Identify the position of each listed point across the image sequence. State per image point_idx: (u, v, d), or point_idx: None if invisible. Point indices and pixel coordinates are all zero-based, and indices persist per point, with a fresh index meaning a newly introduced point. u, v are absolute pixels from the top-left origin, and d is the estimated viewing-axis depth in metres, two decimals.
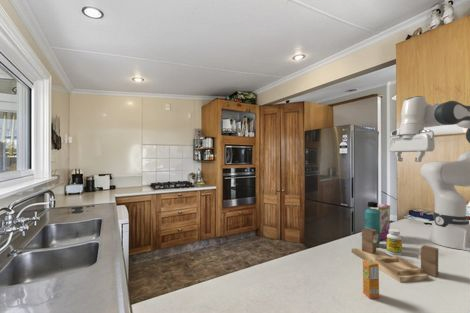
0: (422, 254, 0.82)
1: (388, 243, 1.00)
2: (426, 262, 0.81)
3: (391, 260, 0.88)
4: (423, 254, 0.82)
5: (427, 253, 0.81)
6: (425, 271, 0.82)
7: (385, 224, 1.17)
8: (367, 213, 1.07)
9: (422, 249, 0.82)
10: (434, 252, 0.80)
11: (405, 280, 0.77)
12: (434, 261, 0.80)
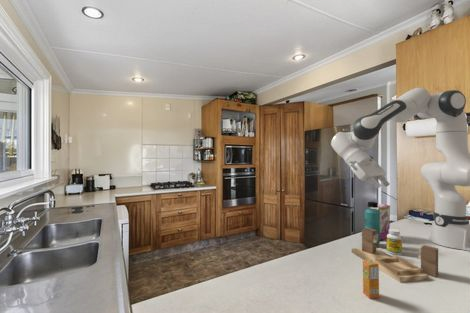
0: (422, 254, 0.82)
1: (388, 243, 1.00)
2: (426, 262, 0.81)
3: (391, 260, 0.88)
4: (423, 254, 0.82)
5: (427, 253, 0.81)
6: (425, 271, 0.82)
7: (385, 224, 1.17)
8: (367, 213, 1.07)
9: (422, 249, 0.82)
10: (434, 252, 0.80)
11: (405, 280, 0.77)
12: (434, 261, 0.80)
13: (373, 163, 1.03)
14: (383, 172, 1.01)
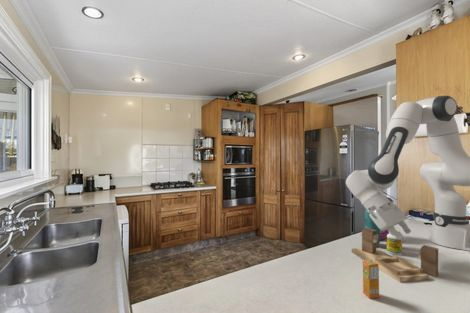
0: (422, 254, 0.82)
1: (388, 243, 1.00)
2: (426, 262, 0.81)
3: (391, 260, 0.88)
4: (423, 254, 0.82)
5: (427, 253, 0.81)
6: (425, 271, 0.82)
7: None
8: (367, 213, 1.07)
9: (422, 249, 0.82)
10: (434, 252, 0.80)
11: (405, 280, 0.77)
12: (434, 261, 0.80)
13: (392, 206, 0.96)
14: (403, 217, 0.95)
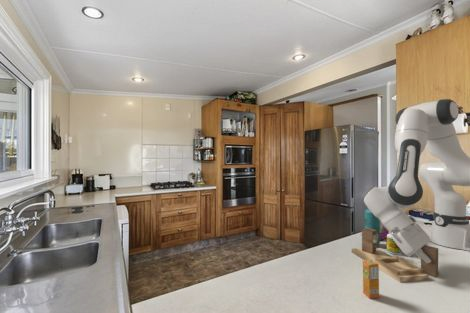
0: None
1: (388, 243, 1.00)
2: None
3: (391, 260, 0.88)
4: None
5: (427, 253, 0.81)
6: (425, 271, 0.82)
7: None
8: (367, 213, 1.07)
9: (422, 249, 0.82)
10: (434, 252, 0.80)
11: (405, 280, 0.77)
12: (434, 261, 0.80)
13: (415, 227, 0.90)
14: (427, 238, 0.89)
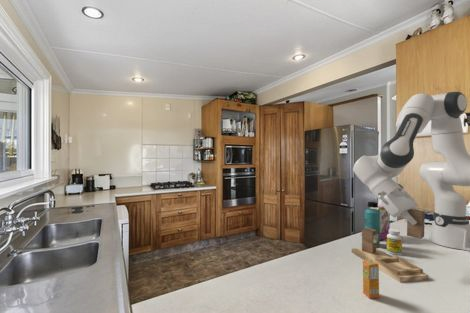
0: None
1: (388, 243, 1.00)
2: None
3: (391, 260, 0.88)
4: None
5: (413, 215, 0.82)
6: (411, 233, 0.82)
7: (385, 224, 1.17)
8: (367, 213, 1.07)
9: (408, 212, 0.83)
10: (420, 213, 0.80)
11: (405, 280, 0.77)
12: (420, 222, 0.80)
13: (403, 193, 0.90)
14: (415, 204, 0.89)
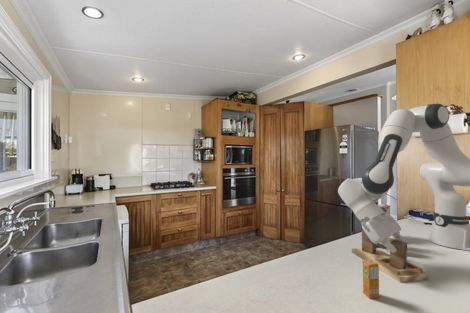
0: None
1: None
2: (395, 255, 0.83)
3: None
4: None
5: (396, 247, 0.82)
6: (393, 264, 0.83)
7: None
8: None
9: (391, 243, 0.83)
10: (402, 246, 0.81)
11: (405, 280, 0.77)
12: (402, 255, 0.81)
13: (386, 217, 0.91)
14: (398, 228, 0.90)
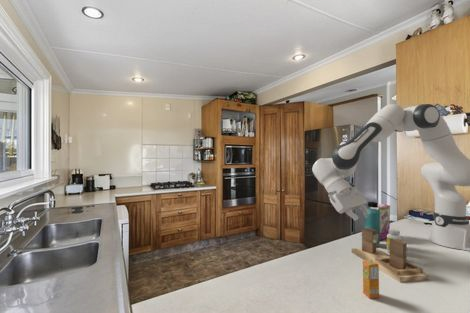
0: (391, 248, 0.84)
1: (388, 243, 1.00)
2: (395, 255, 0.83)
3: None
4: (391, 248, 0.83)
5: (395, 247, 0.83)
6: (393, 265, 0.83)
7: (385, 224, 1.17)
8: None
9: (391, 243, 0.84)
10: (401, 246, 0.81)
11: (405, 280, 0.77)
12: (401, 255, 0.81)
13: (354, 191, 1.01)
14: (364, 201, 1.00)
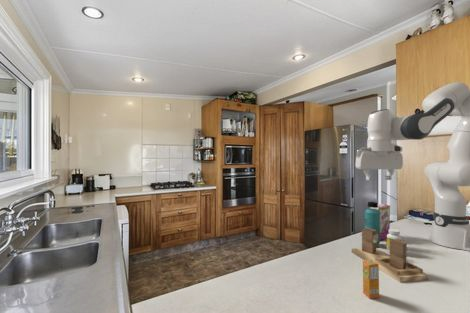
0: (391, 248, 0.84)
1: (388, 243, 1.00)
2: (395, 255, 0.83)
3: None
4: (391, 248, 0.83)
5: (395, 247, 0.83)
6: (393, 265, 0.83)
7: (385, 224, 1.17)
8: (367, 213, 1.07)
9: (391, 243, 0.84)
10: (401, 246, 0.81)
11: (405, 280, 0.77)
12: (401, 255, 0.81)
13: (393, 155, 0.98)
14: (397, 167, 0.99)
